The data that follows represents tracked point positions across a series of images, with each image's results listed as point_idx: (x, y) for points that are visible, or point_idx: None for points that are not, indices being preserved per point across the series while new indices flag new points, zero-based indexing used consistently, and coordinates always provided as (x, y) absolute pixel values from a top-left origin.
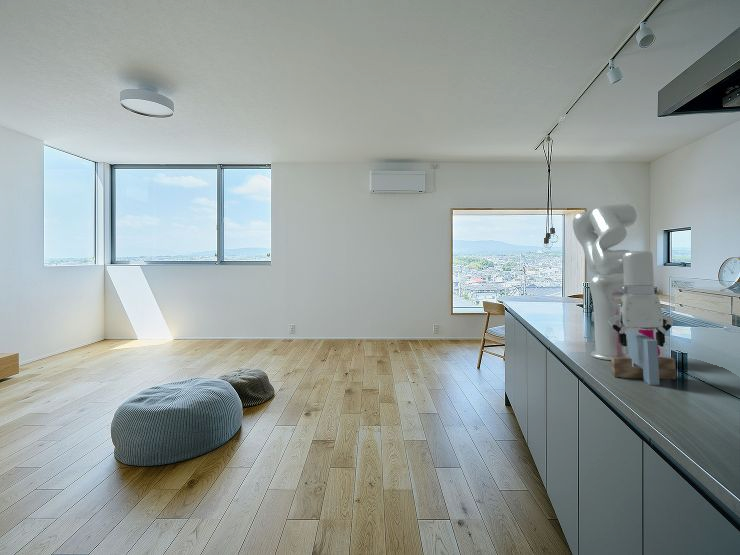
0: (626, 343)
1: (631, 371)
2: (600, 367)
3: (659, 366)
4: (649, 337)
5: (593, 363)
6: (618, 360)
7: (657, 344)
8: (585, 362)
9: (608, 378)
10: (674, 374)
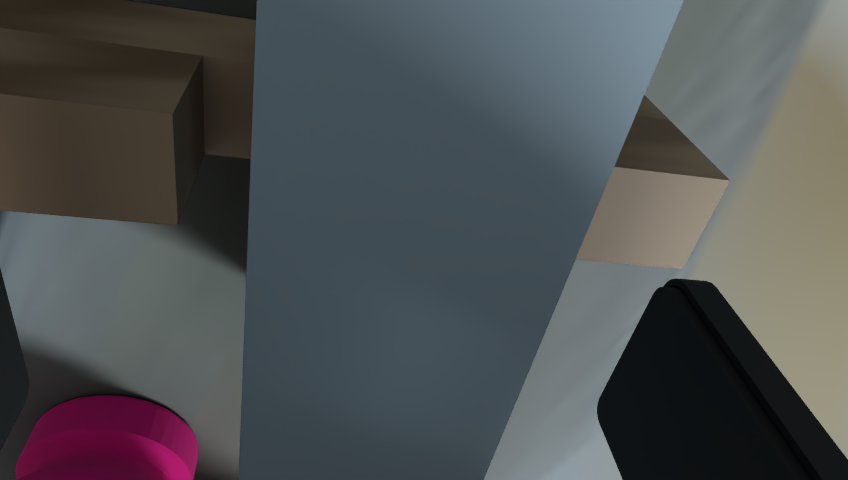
0: (691, 317)
1: None
2: (534, 357)
3: (157, 60)
4: (263, 304)
5: (517, 440)
6: (666, 159)
7: (18, 355)
8: (555, 457)
9: (704, 47)
10: (5, 2)
